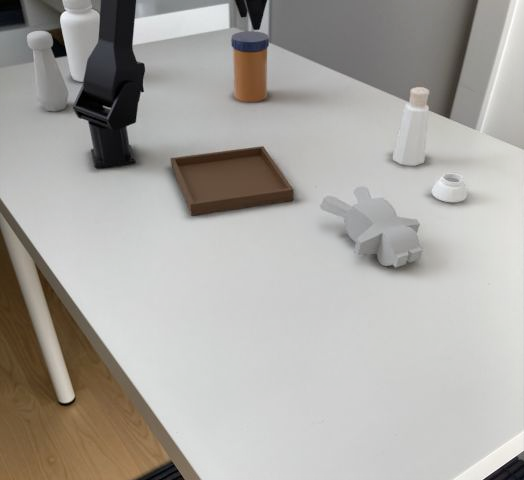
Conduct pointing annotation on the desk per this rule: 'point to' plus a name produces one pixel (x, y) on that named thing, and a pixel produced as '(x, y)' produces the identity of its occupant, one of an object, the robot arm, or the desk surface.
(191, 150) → the desk surface
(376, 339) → the desk surface
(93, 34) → the pill bottle
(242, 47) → the lid
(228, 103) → the desk surface
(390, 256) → the bunny figurine
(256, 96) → the jar
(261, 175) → the tray
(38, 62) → the salt shaker
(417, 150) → the pepper shaker
